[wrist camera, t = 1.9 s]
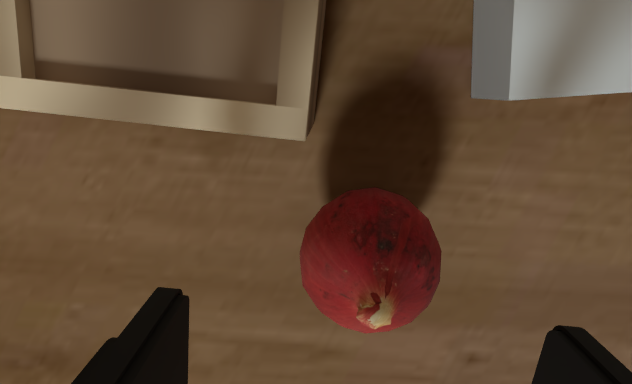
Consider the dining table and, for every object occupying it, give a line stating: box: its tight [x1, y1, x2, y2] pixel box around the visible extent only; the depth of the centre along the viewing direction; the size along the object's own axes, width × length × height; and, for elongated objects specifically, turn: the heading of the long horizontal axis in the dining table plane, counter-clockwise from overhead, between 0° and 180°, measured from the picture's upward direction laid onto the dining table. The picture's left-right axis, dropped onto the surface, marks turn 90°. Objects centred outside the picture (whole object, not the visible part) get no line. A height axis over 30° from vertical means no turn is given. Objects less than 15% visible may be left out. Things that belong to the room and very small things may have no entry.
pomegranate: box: [300, 187, 441, 333], centre depth 16 cm, size 6×6×8 cm
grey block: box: [471, 0, 632, 100], centre depth 15 cm, size 7×7×4 cm
